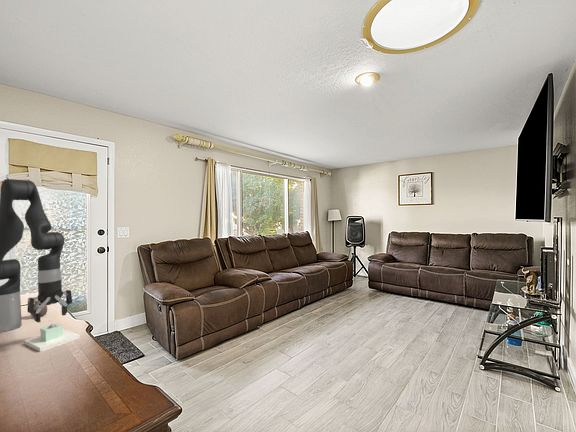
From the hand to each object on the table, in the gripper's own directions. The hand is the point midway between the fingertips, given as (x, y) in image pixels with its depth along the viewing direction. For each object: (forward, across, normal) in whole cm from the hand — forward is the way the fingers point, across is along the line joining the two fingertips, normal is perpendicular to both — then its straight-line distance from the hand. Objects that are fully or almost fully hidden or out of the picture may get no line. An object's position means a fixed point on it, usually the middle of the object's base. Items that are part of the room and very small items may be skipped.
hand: (51, 318), depth 116 cm
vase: (+10, -10, -49) cm, 51 cm away
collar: (+8, 0, 0) cm, 8 cm away
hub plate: (+10, 0, 0) cm, 10 cm away
